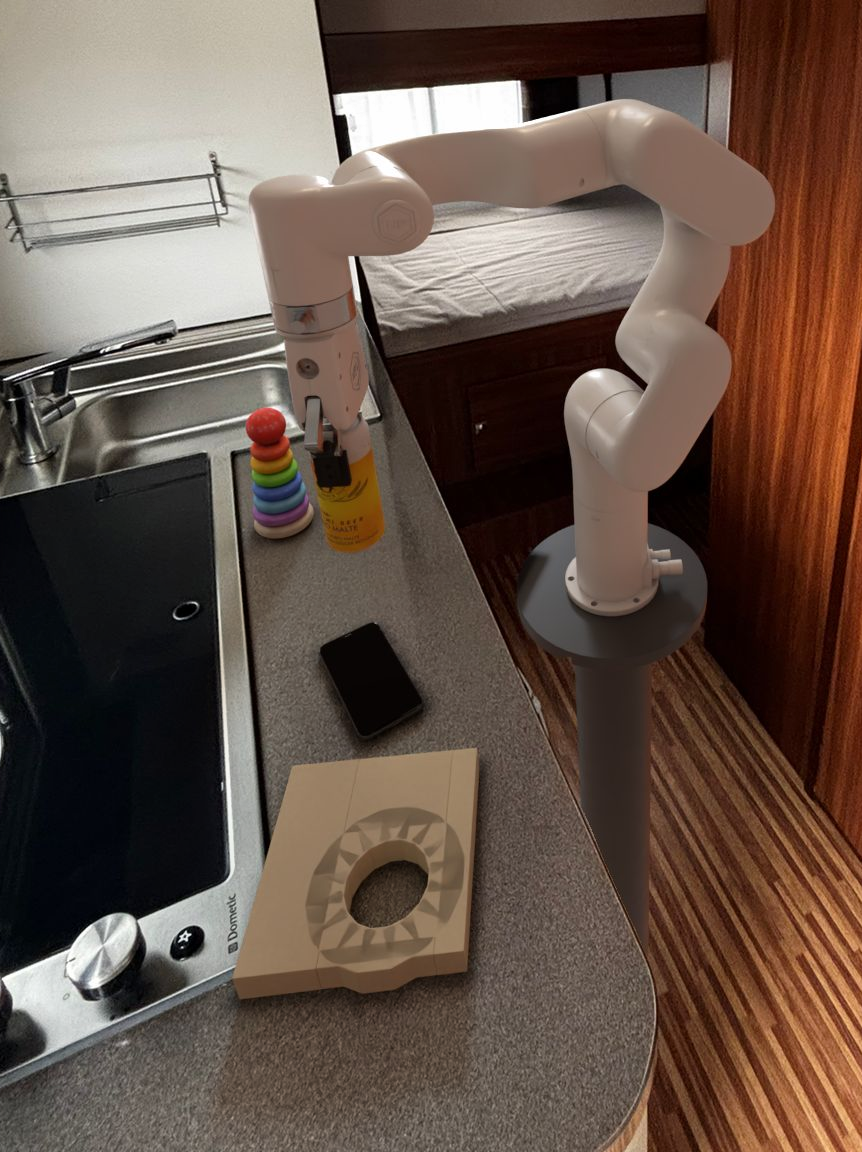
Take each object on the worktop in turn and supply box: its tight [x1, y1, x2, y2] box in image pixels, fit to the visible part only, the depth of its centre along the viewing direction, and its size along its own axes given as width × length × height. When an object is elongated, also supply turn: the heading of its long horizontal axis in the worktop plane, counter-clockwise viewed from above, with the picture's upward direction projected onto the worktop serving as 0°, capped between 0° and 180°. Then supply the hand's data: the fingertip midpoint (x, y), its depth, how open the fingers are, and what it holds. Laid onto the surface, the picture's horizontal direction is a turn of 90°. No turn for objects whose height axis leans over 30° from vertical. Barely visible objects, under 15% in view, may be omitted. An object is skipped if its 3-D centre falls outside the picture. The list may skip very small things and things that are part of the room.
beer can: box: [307, 411, 386, 556], centre depth 85 cm, size 6×6×15 cm
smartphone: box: [318, 621, 425, 741], centre depth 92 cm, size 7×1×15 cm
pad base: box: [231, 747, 480, 1000], centre depth 73 cm, size 18×19×3 cm
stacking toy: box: [245, 407, 315, 540], centre depth 113 cm, size 8×8×19 cm
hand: (343, 463), depth 84 cm, fingers closed on beer can, 6 cm apart
